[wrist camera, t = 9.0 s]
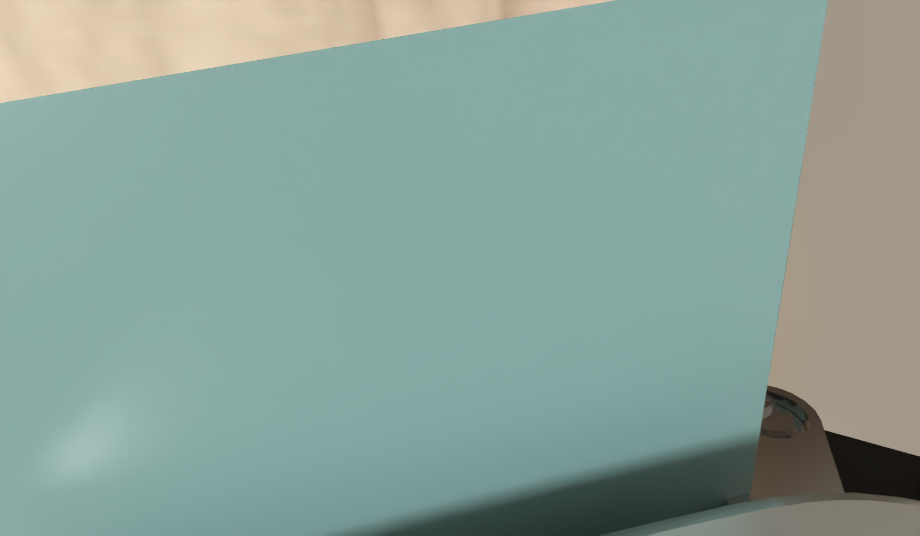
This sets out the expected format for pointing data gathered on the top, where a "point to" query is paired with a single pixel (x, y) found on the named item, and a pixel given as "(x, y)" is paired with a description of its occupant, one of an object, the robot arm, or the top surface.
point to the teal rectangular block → (406, 280)
